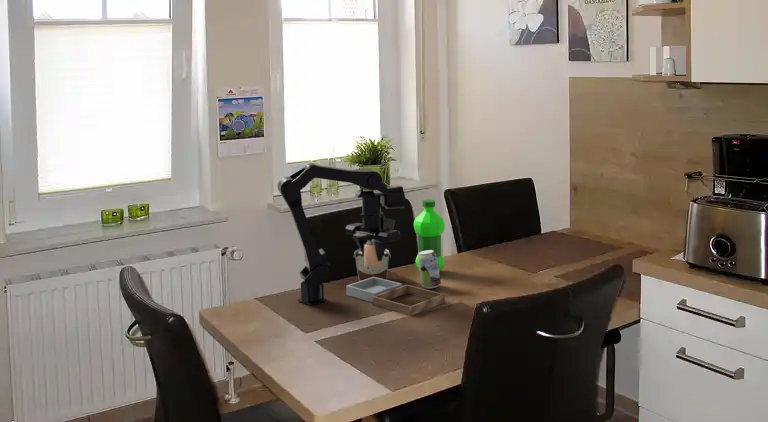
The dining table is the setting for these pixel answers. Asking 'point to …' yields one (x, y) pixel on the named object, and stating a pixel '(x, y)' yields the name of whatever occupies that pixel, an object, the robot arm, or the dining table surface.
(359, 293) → the tray
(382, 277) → the food container
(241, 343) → the dining table surface
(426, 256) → the beverage can
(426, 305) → the brown wooden tray
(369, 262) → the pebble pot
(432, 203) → the plastic bottle
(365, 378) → the dining table surface
